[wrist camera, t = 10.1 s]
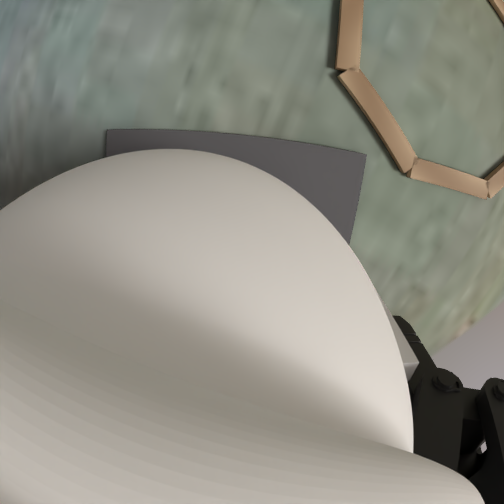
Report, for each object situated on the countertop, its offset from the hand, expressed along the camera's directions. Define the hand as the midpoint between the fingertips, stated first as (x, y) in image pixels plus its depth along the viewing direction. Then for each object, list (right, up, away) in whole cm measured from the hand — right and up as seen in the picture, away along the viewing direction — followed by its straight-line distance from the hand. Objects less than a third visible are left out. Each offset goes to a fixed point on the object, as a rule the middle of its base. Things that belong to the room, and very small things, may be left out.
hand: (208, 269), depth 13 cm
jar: (0, +1, +3) cm, 4 cm away
